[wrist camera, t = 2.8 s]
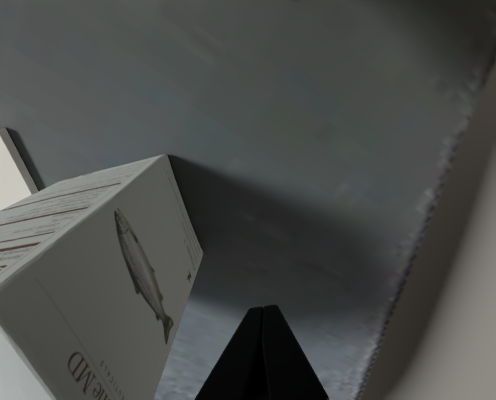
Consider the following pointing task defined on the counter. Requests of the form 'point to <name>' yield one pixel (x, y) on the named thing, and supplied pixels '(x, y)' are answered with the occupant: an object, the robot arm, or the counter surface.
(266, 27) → the counter surface
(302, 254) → the counter surface
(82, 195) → the supplement box
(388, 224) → the counter surface
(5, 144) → the mat
